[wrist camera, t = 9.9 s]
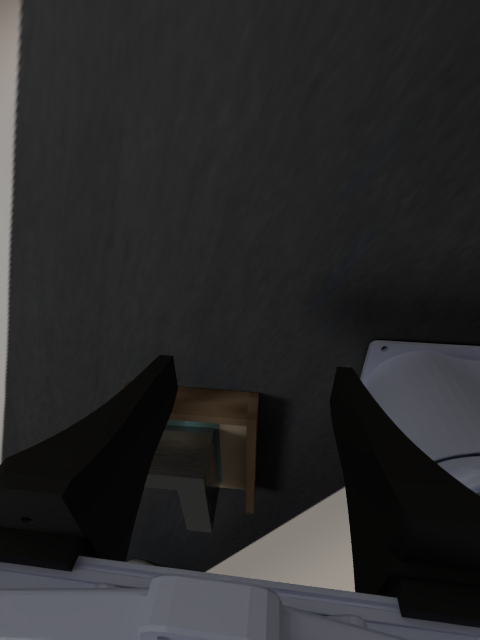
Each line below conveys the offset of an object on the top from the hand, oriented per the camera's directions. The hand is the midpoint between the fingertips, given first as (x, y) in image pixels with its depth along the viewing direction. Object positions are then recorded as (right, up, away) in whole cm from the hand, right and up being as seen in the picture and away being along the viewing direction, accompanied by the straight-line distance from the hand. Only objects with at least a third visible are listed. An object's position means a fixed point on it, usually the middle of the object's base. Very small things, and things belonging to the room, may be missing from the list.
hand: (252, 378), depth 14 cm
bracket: (-6, -11, +18) cm, 22 cm away
